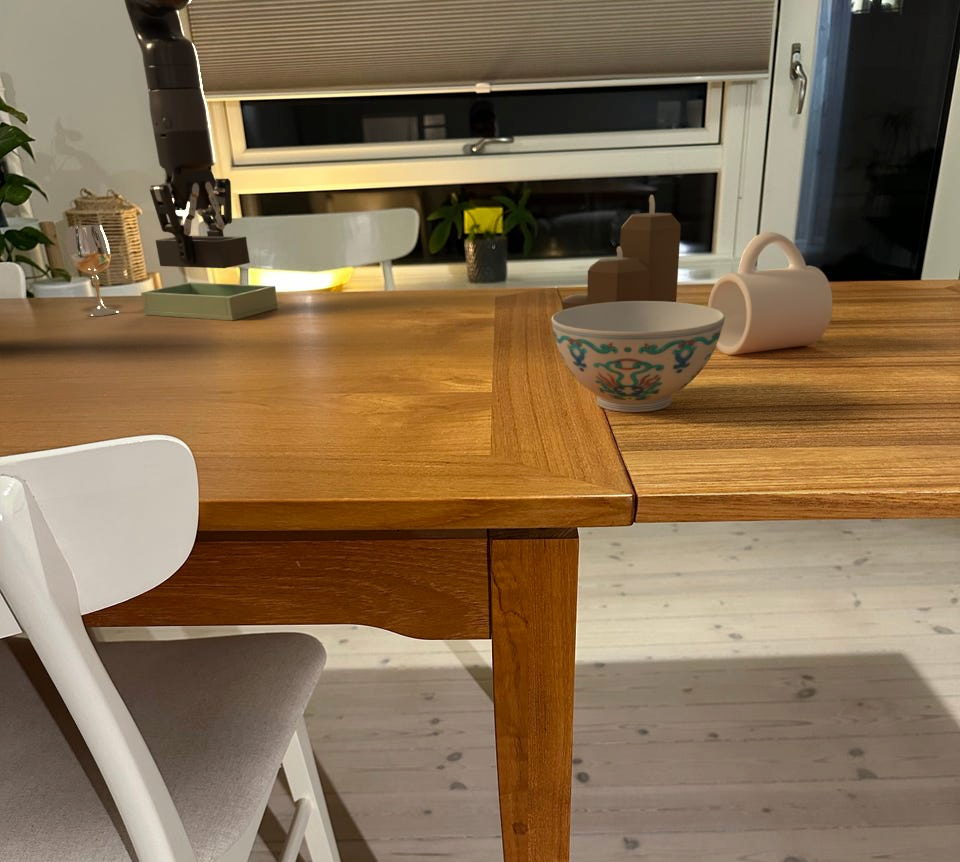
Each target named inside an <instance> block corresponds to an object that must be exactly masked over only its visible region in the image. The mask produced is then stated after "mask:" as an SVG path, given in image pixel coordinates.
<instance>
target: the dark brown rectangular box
mask: <svg viewBox="0 0 960 862" xmlns="http://www.w3.org/2000/svg"><path fill="white" fill-rule="evenodd" d="M191 236H192V238H193V245H194V251H195V257H196V263H195V264H192V265H186V264H183V263H182V262H181V260H180V258H179V254H178V249H177V243H176V238H175V236H172V237H167V238H166V237H165V238H161V239H160V238H159V239H155V245H156V251H157V257H158V261H159V266H160V267H170V268H172V267H173V268H201V269H202V268H203V269H227V268H232V267H238V266H243V265H247V264H250V263H251V260H250V254H249V246H248V239H247V236H229V235H227V236H225V235H224V236H208V235H191Z"/></svg>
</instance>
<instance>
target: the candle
mask: <svg viewBox="0 0 960 862" xmlns="http://www.w3.org/2000/svg"><path fill="white" fill-rule="evenodd" d="M648 202H649V210H648V211H649V212H644V213H632V214H631V215H630V216H629V218H627V220H626V221H625V222H624V223H623V224H622V226H621V228H620V236H619V237H620V238H619V239H620V241H619V246H617V247H616V257H605V258H600V259H598V260H596V261H595V262H594V263H593V264H592V265H590V266H589V268H588V270H587V292H583V293H573V294H570V295H567V296H565V297H564V299H563V300H562V306H561V307H562V310H565V309H569V308H573V307H578V306H583V305H590V304H598V303H609V302H626V301H663V302H677V294H678V279H679V278H678V277H679V261H680V247H681V246H680V245H681V243H680V242H681V231H682V229H681V228H682V226H681V223H680V222H679V221H678V220H677V219H676V217H675V216H674V215H673V214H672V213H671V212H656V211H655V210H656V202H655V197H654V195H653V194H650V195H649V198H648ZM562 310H561V311H562Z"/></svg>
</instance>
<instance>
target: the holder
mask: <svg viewBox="0 0 960 862" xmlns="http://www.w3.org/2000/svg"><path fill="white" fill-rule="evenodd" d="M140 295H141V300H142V305H143V310H144V315H145V316H155V317H156V316H158V317H171V318H189V319H202V320H203V319H204V320H219V321H233V322H234V321H236V320H241V319H243V318H248V317H250V316H251V317H252V316H254V315H259V314H261V313H262V314H263V313H266V312H269V311H274V310H276V309H279V305H278V297H277V288H276V286H275V285H258V284H233V283H216V282H215V283H211V282H194V281H193V282H184V283H180V284H175V285H171V286H166V287H162V288H157V289H156V288H155V289H152V290H147V291H142V292H140Z"/></svg>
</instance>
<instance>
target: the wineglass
mask: <svg viewBox="0 0 960 862" xmlns="http://www.w3.org/2000/svg"><path fill="white" fill-rule="evenodd" d="M66 249H67V254H68V258H69V260H70V263H71V264H72V265H73V266H74V268H76V269H77V270H79V271H81V272H83V273H86V274H90V275H91V276H92V277H91V282H92V285H93V287H94V290H95V292H96V297H97V303H98V305H97V308H95V309H94V310H92V311H89V312H87V313H86V315H87V316H89V317H103V316H111V315H115V314H118V313H119V310H117V309H111V308H108V307H106V306H105V305H104V304H103V301H102V297H101V291H100V278H99V277H98V276H97V274H99V273H101V272H103V271H104V270H106V269H107V268H108V267H109V265H110V264H111V261H112V260H111V258H112V255H111V254H112V253H111V248H110V245H109V241H108V239H107V237H106V234H105V232H104V230H103V227H102V225H101V224H83V225H81V224H80V225H72V226H67V227H66Z"/></svg>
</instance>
